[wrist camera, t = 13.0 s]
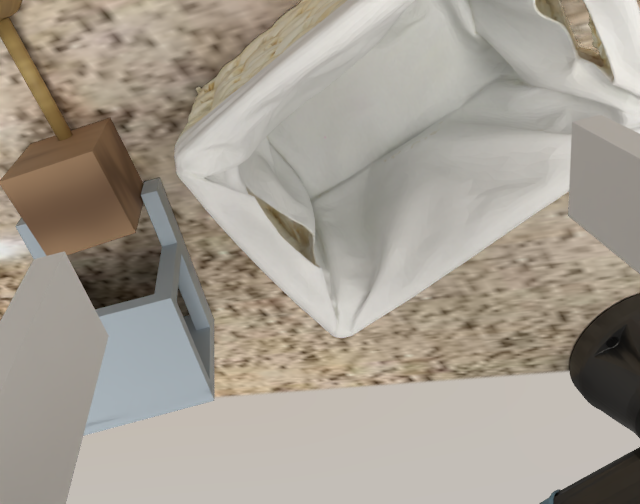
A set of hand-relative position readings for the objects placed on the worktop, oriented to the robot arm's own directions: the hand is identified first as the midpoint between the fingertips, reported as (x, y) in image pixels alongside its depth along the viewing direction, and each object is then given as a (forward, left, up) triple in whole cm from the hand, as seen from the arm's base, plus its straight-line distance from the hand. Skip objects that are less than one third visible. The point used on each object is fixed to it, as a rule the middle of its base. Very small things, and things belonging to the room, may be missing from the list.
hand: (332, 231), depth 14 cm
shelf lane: (-15, +15, -29) cm, 36 cm away
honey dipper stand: (0, +15, -29) cm, 32 cm away
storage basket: (-5, -7, -29) cm, 30 cm away
